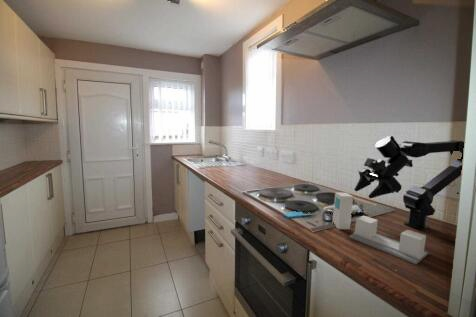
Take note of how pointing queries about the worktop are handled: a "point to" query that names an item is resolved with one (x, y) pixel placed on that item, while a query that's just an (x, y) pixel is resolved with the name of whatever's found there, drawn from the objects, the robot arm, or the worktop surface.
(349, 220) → the block
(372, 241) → the board
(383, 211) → the worktop surface
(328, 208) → the gun
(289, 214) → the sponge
